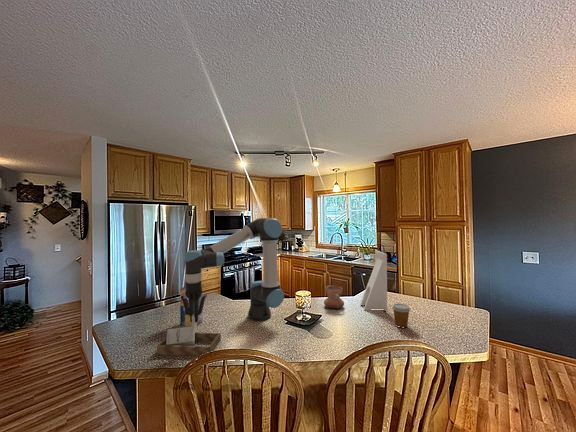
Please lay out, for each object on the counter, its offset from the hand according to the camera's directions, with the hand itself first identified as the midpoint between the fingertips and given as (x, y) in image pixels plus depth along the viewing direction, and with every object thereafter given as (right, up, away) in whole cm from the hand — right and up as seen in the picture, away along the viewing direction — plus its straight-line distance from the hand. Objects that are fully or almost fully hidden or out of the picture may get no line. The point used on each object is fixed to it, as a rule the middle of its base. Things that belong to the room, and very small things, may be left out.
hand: (194, 328), depth 128 cm
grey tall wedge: (+107, -10, +55) cm, 121 cm away
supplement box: (-1, -5, +2) cm, 5 cm away
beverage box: (-12, -10, +29) cm, 33 cm away
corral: (-2, -10, 0) cm, 10 cm away
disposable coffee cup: (+115, -9, +23) cm, 117 cm away
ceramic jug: (+80, -10, +57) cm, 99 cm away
